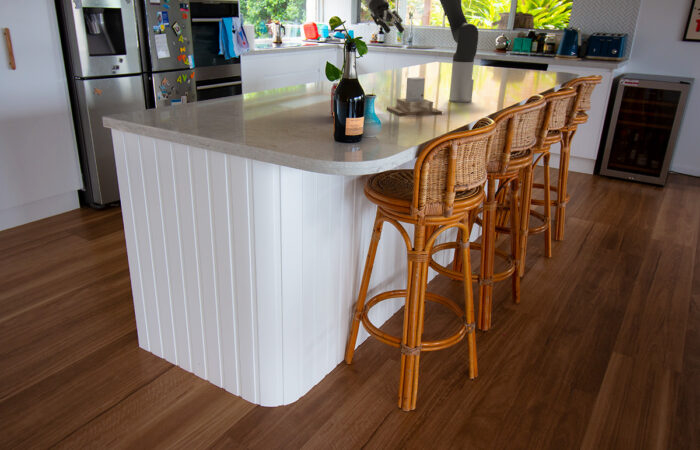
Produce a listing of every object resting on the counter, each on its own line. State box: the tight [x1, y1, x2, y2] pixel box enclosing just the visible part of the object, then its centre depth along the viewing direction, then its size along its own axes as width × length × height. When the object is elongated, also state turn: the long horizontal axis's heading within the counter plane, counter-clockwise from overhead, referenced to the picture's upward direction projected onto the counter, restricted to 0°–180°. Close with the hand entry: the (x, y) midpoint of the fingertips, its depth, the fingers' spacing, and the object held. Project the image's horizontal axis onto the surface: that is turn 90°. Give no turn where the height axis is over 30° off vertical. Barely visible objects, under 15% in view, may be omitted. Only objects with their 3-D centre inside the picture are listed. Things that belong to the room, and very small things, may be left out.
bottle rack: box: [386, 97, 443, 117], centre depth 218 cm, size 18×14×5 cm
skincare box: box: [405, 76, 426, 102], centre depth 217 cm, size 6×4×12 cm
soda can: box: [330, 82, 339, 117], centre depth 204 cm, size 7×7×12 cm
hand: (395, 31), depth 223 cm, fingers open, 8 cm apart
